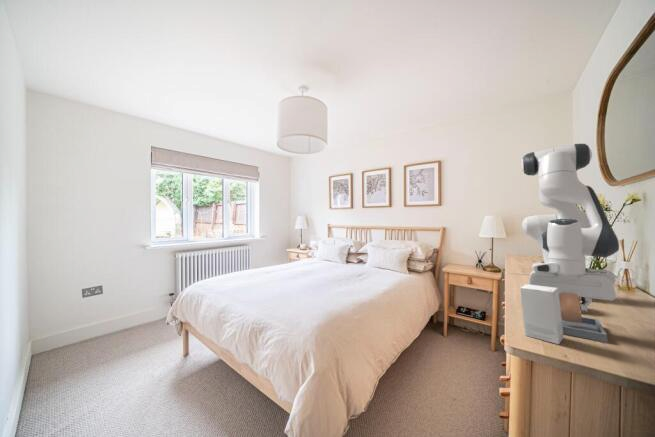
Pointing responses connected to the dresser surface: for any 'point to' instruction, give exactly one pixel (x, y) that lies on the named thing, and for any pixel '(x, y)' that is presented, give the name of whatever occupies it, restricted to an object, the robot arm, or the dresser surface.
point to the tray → (585, 329)
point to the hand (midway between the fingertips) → (569, 308)
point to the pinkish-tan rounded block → (570, 307)
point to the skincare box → (542, 313)
